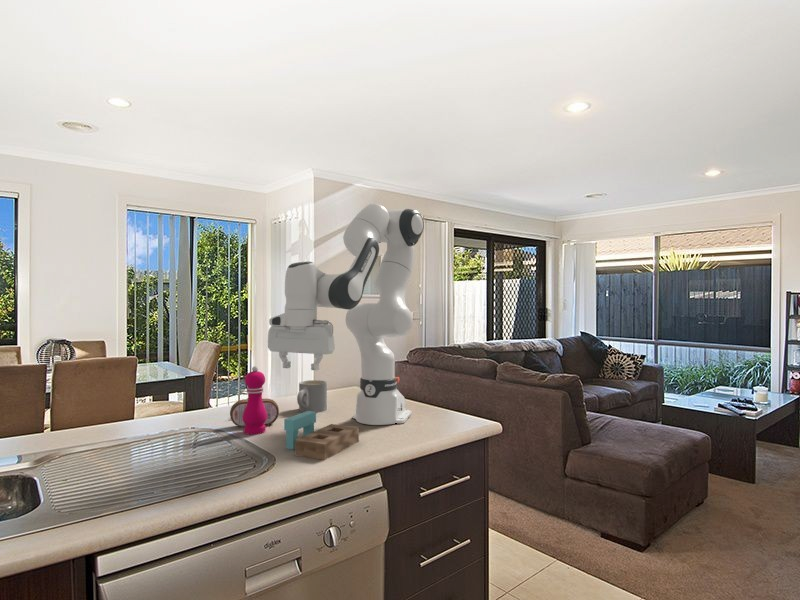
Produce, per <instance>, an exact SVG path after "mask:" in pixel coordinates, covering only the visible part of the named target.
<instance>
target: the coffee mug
mask: <svg viewBox="0 0 800 600" xmlns="http://www.w3.org/2000/svg"><path fill="white" fill-rule="evenodd" d="M327 382H328V381H325V380H321V379H318V380H316V379H313V380H310V379H309V380H308V379H307V380H303V381H299V383H298V393H297V397H296V401H297V405H298V410H299V412H301V413H303V412H306V411H313V412H316V414H317V413H323V412H325V411H327V409H328V407H327V406H328V405H327V404H328V403H327V402H328V399H327V397H328V394H327V393H328V392H327V391H328V388H327V386H328V383H327Z"/></svg>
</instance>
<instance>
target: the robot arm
mask: <svg viewBox="0 0 800 600" xmlns="http://www.w3.org/2000/svg"><path fill="white" fill-rule="evenodd" d="M424 226H425V224H424V218H423V217H422V215H421V213H420V212H419V211H418V210H415V209H411V208H405V209H390V210H387V209H386V208H385V206H383V205H382V204H380V203H369V204H367V205H366V206H365V207H363V208H362V209H361V210H360V211H359V212H358V213H357V215H355V217H354V218H352V221H351V222H350V223H349V224H348V226H347V227H346V228H345V231H344V233H343V237H342V238H343V244H344V246H345V248H346V249H347V251H348V252H349V253H350V254H351V255H352V256H354V257H355V258H354V259H353V262H352V263H351V265H350V268H349V269H348V270H346V271H344V272H342V273H337V274H334V273H333V274H327V273H325V272H323V271H321V270H320V269H319V268H318V267H317V266H316V265H315V262H313V261H299V262H292V263H291V264H289V265H288V266H287V267H286V272H285V279H284V296H285V305H284V313H281V314H278V315H275V316H273V317H271V318H269V321H268V323H269V326H270V327H269V329H268V332H267V348H268V350H269V351H270V352H274V353H275V352H277V353H278V355H279V358H280V360H281V362H282V368H283V369H290V368H291V361H289V360H288V357H287V356H288V355H289V353H291V354H292V353H294V354H295V353H296V354H308V355H309V354H311V355H314V359H315V360H314V363H311V364H310V370H311V371H319V369H320V364H321V361H322V359H323V358H324V357H323V356H324V355H331V354H333V353H334V351H335V339H334V337H335V336H334V324H333V323H332V322H330V320H328V319H327V320H326V319H324V320H323V319H322V320H321V319H317V318H318V316H317V315H318V308H331V309H333V308H334V309H335V308H336V309H342V310H347V312H346V315H345V325H346V327H347V329H348V330H349V332H351V333H352V335H353V336H354V338H355V339H356V340H355V341H356V343H357V346H358V348H359V353H360V360H361V361H360V363H361V378H360V379H359V388H360V391H359V392H358V393H357V394H356V407H355V413H354V414H352V418H353V419H354V420H356V422H358V423H360V424H364V425H370V426H386V425H387V426H388V425H393V424H395V423H397V424H404V423H406V421H407V420H408V419H409V418H410V417H411V415H412V413H413V412H412V410H411V409H410V410H409V409H407V408H406V398H405V396H404V395H403V394H402V393H401V392H400V391H399V389H397V388H398V385H397V384H399V383H400V377H399V376H396V374H395V372H396V371H395V367H396V364H395V363H396V362H395V359H396V358H395V354H394V352H393V351H392V349H390V348H389V347H388V346H387V345H386V342H385V339H384V337H385V338H397V337H401V336H402V337H403V336H405V335H407V334H409V332H410V331H411V329H412V327H413V321H414V319H413V318H414V317H413V314H412V311H411V310H410V309H409V307H408V306H407V304H406V291H407V287H408V284H409V281H410V277H411V274H412V271H413V267H414V263H415V256H416V251H415V247H414V246H415V245H416V244H417V243H418V242H419V240H420V238H421V236H422V234H423V232H424V228H425V227H424ZM381 243H385V244H386V250H385V253H384V255H383V257H382V260H381V261H380V265H379V267H378V270H377V273H376V275H375V279H374V282H373V285H374V288H375V291H376V292H378V294H379V300H378V302H377V303H372V302H371V303H366V302H364V303H360V302H361V300H362V298H363V295H364V291H365V286H366V284H367V281H368V279H369V277H370V275H371V272H372V270H373V269H374V266H375V263H376V262H377V259H378V256H379V254H380V246H379V244H381ZM408 417H409V418H408ZM395 425H396V424H395Z"/></svg>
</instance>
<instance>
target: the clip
mask: <svg viewBox="0 0 800 600" xmlns="http://www.w3.org/2000/svg"><path fill="white" fill-rule="evenodd" d="M283 421H284V423H283V424H284V426H283V430H284V431H285V432H286V434H285V435H286V437H285V438H286V439H285V441H286V443H285V444H286V446H285V447H286V448H285V449H287V450H295V440H296V439H298V438H299V430H301V429H303V430H302V431H303V433H302V437H303V436H305V435H308V434H310V433H312V432H314V431H315V423H317V413H316V412H313V411H306V412H301V413H298V414H296V415H292V416H289V417H287V418H284V420H283Z"/></svg>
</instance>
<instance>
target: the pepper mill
mask: <svg viewBox="0 0 800 600" xmlns="http://www.w3.org/2000/svg"><path fill="white" fill-rule="evenodd" d="M251 370H252V371H250V372H248V373H247V374H246V375H245V378H244V383H245V386H246V393H247V398H248V402H247V406H246V408H245V410H244V413H243V422H244V423H245V424H246V426H245V427H243V432H244V434H246V435H260V434H264V433H265V432H266V431H267V430H266V427H267V425H266V426H265V425H264V423H265V421H266V420H267V412H266V409H265V407H264V405H263V402H262V399H263V393H264V384H265V383H266V376H265V374H264V373H263V372H261V371H259V368H258V366H256V365H253V366H252V367H251Z"/></svg>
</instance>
